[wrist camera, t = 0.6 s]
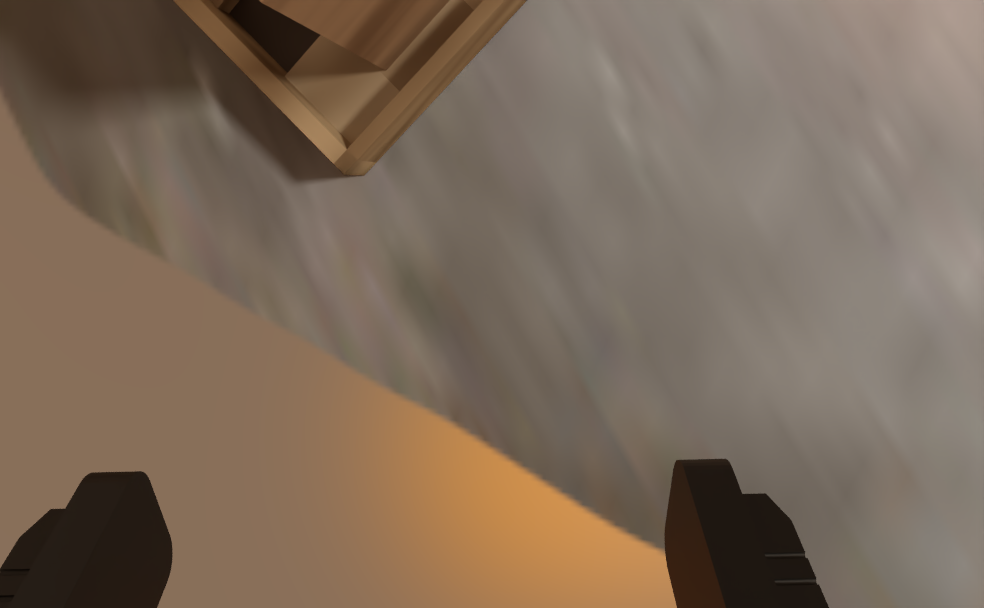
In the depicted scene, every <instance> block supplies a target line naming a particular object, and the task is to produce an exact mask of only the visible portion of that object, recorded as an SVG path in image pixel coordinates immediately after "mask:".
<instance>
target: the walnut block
mask: <svg viewBox="0 0 984 608" xmlns="http://www.w3.org/2000/svg"><path fill="white" fill-rule="evenodd" d="M259 1H260V2H261V3H263V4H265V5H267V6H269V7H270V8H272V9H274V10H276V11H278V12H280V13H281V14H283V15H285V16H287V17H289V18H291V19H292V20H294V21H296V22H298V23H300V24H302V25H303V26H305V27H307V28H309V29H311V30H313V31H314V32H316V33H318V34H320V35H322V36H324V37H325V38H327V39H329V40H331V41H333V42H335V43H336V44H338V45H340V46H342V47H344V48H345V49H347V50H349V51H351V52H353V53H355V54H356V55H358V56H360V57H362V58H364V59H366V60H367V61H369V62H371V63H373V64H375V65H377V66H378V67H380V68H382V69H384V70H387V69H388V68H389V67H390V66H391V65H392V64H393V63H394V61H395V60H396V59H397V58H398V57H399V56H400V55H401V54H402V53H403V52H404V50H405V49H406V48H407V47H408V46H409V45H410V44H411V43H412V42H413V40H414V39H415V38H416V37H417V36H418V35H419V34H420V33H421V32H422V30H423V29H424V28H425V27H426V26H427V25H428V24H429V23H430V22H431V21H432V19H433V18H434V17H435V16H436V15H437V14H438V13H439V12H440V11H441V9H442V8H443V7H444V6H445V5H446V4H447V3H448V2H449V1H450V0H259Z"/></svg>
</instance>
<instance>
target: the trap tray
mask: <svg viewBox="0 0 984 608" xmlns="http://www.w3.org/2000/svg"><path fill="white" fill-rule="evenodd" d="M173 1H174V2H175V3H176V4H177V5H178V6H179V7H180V8H181V9H182V10H183V11H184V12H185V13H186V14H187V15H188V16H189V17H190V18H191V19H192V20H193V21H194V22H195V23H196V24H197V25H198V26H199V27H200V28H201V29H202V30H203V31H204V32H205V33H206V34H207V35H208V36H209V37H210V38H211V39H212V41H213V42H214V43H215V44H216V45H217V46H218V47H219V48H220V49H221V50H222V51H223V52H224V53H225V54H226V55H227V56H228V57H229V58H230V59H231V60H232V61H233V62H234V63H235V64H236V65H237V66H238V67H239V68H240V69H241V70H242V71H243V72H244V73H245V74H246V75H247V76H248V77H249V78H250V79H251V80H252V81H253V82H254V83H255V84H256V85H257V86H258V87H259V88H260V89H261V90H262V91H263V92H264V93H265V95H266V96H267V97H268V98H269V99H270V100H271V101H272V102H273V103H274V104H275V105H276V106H277V107H278V108H279V109H280V110H281V111H282V112H283V113H284V114H285V115H286V116H287V117H288V118H289V119H290V120H291V121H292V122H293V123H294V124H295V125H296V126H297V127H298V128H299V129H300V130H301V131H302V132H303V133H304V134H305V135H306V136H307V137H308V138H309V139H310V140H311V141H312V142H313V143H314V144H315V145H316V146H317V147H318V149H319V150H320V151H321V152H322V153H323V154H324V155H325V156H326V157H327V158H328V159H329V160H330V161H331V162H332V163H333V164H334V165H335V166H336V167H337V168H338V169H339V170H340V171H341V172H342V173H343V174H344V175H362V176H364V175H365V174H366V173H367V172H368V171H369V170H370V169H371V168H372V167H373V165H374V164H375V163H376V162H377V161H378V160H379V159H380V158H381V157H382V156H383V155H384V154H385V153H386V151H387V150H388V149H389V148H390V147H391V146H392V145H393V144H394V143H395V142H396V141H397V140H398V139H399V137H400V136H401V135H402V134H403V133H404V132H405V131H406V130H407V129H408V128H409V127H410V126H411V125H412V123H413V122H414V121H415V120H416V119H417V118H418V117H419V116H420V115H421V114H422V113H423V112H424V111H425V109H426V108H427V107H428V106H429V105H430V104H431V103H432V102H433V101H434V100H435V99H436V98H437V97H438V96H439V94H440V93H441V92H442V91H443V90H444V89H445V88H446V87H447V86H448V85H449V84H450V83H451V82H452V80H453V79H454V78H455V77H456V76H457V75H458V74H459V73H460V72H461V71H462V70H463V69H464V68H465V66H466V65H467V64H468V63H469V62H470V61H471V60H472V59H473V58H474V57H475V56H476V55H477V54H478V52H479V51H480V50H481V49H482V48H483V47H484V46H485V45H486V44H487V43H488V42H489V41H490V40H491V38H492V37H493V36H494V35H495V34H496V33H497V32H498V31H499V30H500V29H501V28H502V27H503V26H504V24H505V23H506V22H507V21H508V20H509V19H510V18H511V17H512V16H513V15H514V14H515V13H516V12H517V10H518V9H519V8H520V7H521V6H522V5H523V4H524V3H525V2H526V1H527V0H450V1H449V2H448V3H447V4H446V5H445V6H444V7H443V8H442V9H441V11H440V12H439V13H438V14H437V15H436V16H435V17H434V18H433V19H432V21H431V22H430V23H429V24H428V25H427V26H426V27H425V28H424V29H423V30H422V32H421V33H420V34H419V35H418V36H417V37H416V38H415V39H414V40H413V42H412V43H411V44H410V45H409V46H408V47H407V48H406V49H405V50H404V52H403V53H402V54H401V55H400V56H399V57H398V58H397V59H396V60H395V61H394V63H393V64H392V65H391V66H390V67H389V68H388V69H387V70H384V69H382V68H380V67H378V66H377V65H375V64H373V63H371V62H369V61H367V60H366V59H364V58H362V57H360V56H358V55H356V54H355V53H353V52H351V51H349V50H347V49H345V48H344V47H342V46H340V45H338V44H336V43H335V42H333V41H331V40H329V39H327V38H325V37H324V36H322V35H320V34H318V33H316V32H314V31H313V30H311V29H309V28H307V27H305V26H303V25H302V24H300V23H298V22H296V21H294V20H292V19H291V18H289V17H287V16H285V15H283V14H281V13H280V12H278V11H276V10H274V9H272V8H270V7H269V6H267V5H265V4H263V3H261V2H260V1H259V0H173Z"/></svg>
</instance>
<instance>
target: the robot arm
mask: <svg viewBox="0 0 984 608" xmlns="http://www.w3.org/2000/svg"><path fill="white" fill-rule="evenodd" d="M665 553H666V561H667V567H668V572H669V576H670V580H671V584H672V588H673V592H674V597H675V601H676V605H677V608H829V607H828V604H827V602H826V600H825V597H824V595H823V593H822V591H821V588H820V586H819V585H817V583H816V577H815V574H814V572H813V570H812V567H811V565H810V563H809V560H808V558H805V551H804V549H803V546H802V544H801V542H800V539H799V537H798V535H797V532H796V530H795V528H794V525H793V523H792V521H791V520H790V518H789V517H788V516H787V515H786V514H785V513H784V512H783V511H782V510H781V509H780V508H779V507H778V506H777V505H776V504H775V503H774V502H773V501H772V500H771V499H770V498H769V496H768V495H767V494H742V492H741V490H740V487H739V484H738V482H737V479H736V476H735V474H734V471H733V468H732V466H731V464H730V462H729V461H728V460H727V459H698V460H677V461H676V462H675V465H674V469H673V476H672V483H671V489H670V496H669V503H668V510H667V517H666V524H665ZM171 565H172V542H171V537H170V534H169V532H168V529H167V526H166V523H165V521H164V518H163V515H162V512H161V510H160V507H159V505H158V502H157V499H156V496H155V493H154V491H153V488H152V486H151V483H150V480H149V478H148V476H147V475H146V474H145V473H144V472H141V471H139V472H101V473H99V472H98V473H90V474H88V475H87V476H85V478H84V479H83V480H82V481H81V483H80V484H79V486H78V488H77V489H76V491H75V493H74V495H73V496H72V498H71V500H70V502H69V503H68V505H67V507H66V509H51V510H49V511H48V512H47V513H46V514H45V515H44V516H43V517H42V518H41V519H39V520H38V521H37V522H36V523H35V524H34V525H33V526H32V527H31V528H30V529H28V530H27V531H26V532H25V533H24V534H23V535H22V536H21V537H20V538H19V539H18V541H17V542H16V544H15V546H14V547H13V549H12V550H11V552H10V554H9V555H8V557H7V558H6V560H5V562H4V563H3V565H2V567H1V568H0V608H157V606H158V604H159V601H160V599H161V596H162V593H163V591H164V588H165V586H166V584H167V581H168V578H169V575H170V570H171Z"/></svg>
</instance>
